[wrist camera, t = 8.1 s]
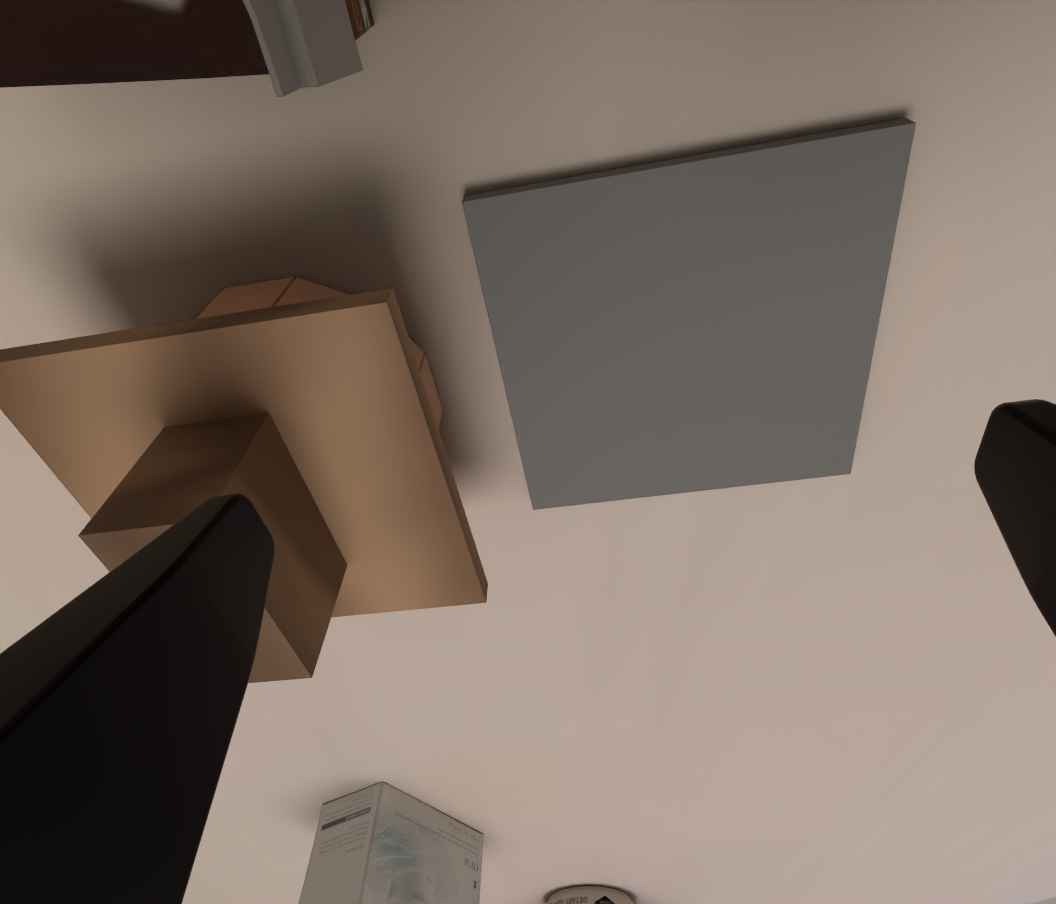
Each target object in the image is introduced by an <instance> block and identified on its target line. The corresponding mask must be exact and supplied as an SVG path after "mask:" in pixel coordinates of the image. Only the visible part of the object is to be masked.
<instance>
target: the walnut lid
mask: <svg viewBox="0 0 1056 904" xmlns="http://www.w3.org/2000/svg"><path fill="white" fill-rule="evenodd" d="M0 409H1V410H2V411H3V413H4V414H5V415H6V416H7V417H8V419H9V420H10V421H11V422H12V423H13V425H14V426H15V427H16V428H17V429H18V431H19V432H20V433H21V434H22V436H23V437H24V438H25V439H26V440H27V442H28V443H29V444H30V445H31V446H32V448H33V449H34V450H35V451H36V452H37V454H38V455H39V456H40V457H41V458H42V460H43V461H44V462H45V463H46V464H47V466H48V467H49V468H50V469H51V470H52V472H53V473H54V474H55V475H56V476H57V478H58V479H59V480H60V481H61V482H62V484H63V485H64V486H65V487H66V489H67V490H68V491H69V492H70V493H71V495H72V496H73V497H74V498H75V499H76V501H77V502H78V503H79V504H80V505H81V507H82V508H83V509H84V510H85V511H86V513H87V514H88V515H89V516H90V517H91V520H90V521H89V523H88V524H87V525H86V526H85V528H84V529H83V530H82V531H81V533H80V534H79V535H78V536H79V537H80V538H81V539H82V540H83V541H84V543H85V544H86V545H87V546H88V547H89V548H90V549H91V551H92V552H93V553H94V554H95V555H96V556H97V558H98V559H99V560H100V561H101V562H102V563H103V564H104V566H105V567H106V568H107V569H108V570H109V571H110V572H111V571H112V570H113V569H115V568H116V567H117V566H119V565H120V564H121V563H123V562H124V561H125V560H127V559H128V558H130V557H131V556H132V555H134V554H135V553H136V552H138V551H139V550H140V549H142V548H143V547H144V546H146V545H147V544H148V543H150V542H151V541H152V540H154V539H155V538H156V537H158V536H159V535H160V534H162V533H163V532H164V531H166V530H167V529H168V528H170V527H171V526H172V525H174V524H175V523H177V522H178V521H179V520H181V519H182V518H183V517H185V516H186V515H187V514H189V513H190V512H191V511H193V510H194V509H195V508H197V507H198V506H199V505H201V504H202V503H203V502H205V501H206V500H207V499H209V498H211V497H214V496H219V495H228V494H236V493H240V494H244V495H246V496H247V497H248V498H249V499H250V500H251V501H252V503H253V505H254V506H255V508H256V510H257V511H258V513H259V515H260V516H261V518H262V520H263V521H264V523H265V524H266V526H267V528H268V529H269V531H270V533H271V535H272V537H273V540H274V544H275V556H274V561H273V567H272V572H271V577H270V583H269V588H268V593H267V599H266V604H265V609H264V615H263V620H262V626H261V631H260V636H259V642H258V646H257V650H256V655H255V659H254V663H253V667H252V670H251V674H250V678H249V681H248V683H254V682H266V681H278V680H290V679H302V678H312V676H313V673H314V670H315V666H316V663H317V660H318V657H319V654H320V651H321V647H322V644H323V641H324V638H325V635H326V632H327V629H328V625H329V622H330V619H331V617H339V616H350V615H360V614H371V613H382V612H392V611H403V610H413V609H424V608H434V607H445V606H455V605H466V604H477V603H486V599H487V588H488V583H487V580H486V577H485V574H484V570H483V567H482V564H481V561H480V558H479V555H478V552H477V549H476V545H475V542H474V539H473V536H472V533H471V530H470V527H469V524H468V520H467V517H466V514H465V511H464V508H463V505H462V502H461V499H460V495H459V492H458V489H457V486H456V483H455V480H454V477H453V474H452V470H451V467H450V464H449V461H448V458H447V455H446V452H445V449H444V445H443V442H442V439H441V436H440V433H439V430H438V427H437V424H436V420H435V417H434V414H433V411H432V408H431V405H430V402H429V399H428V395H427V392H426V389H425V386H424V383H423V380H422V377H421V374H420V370H419V367H418V364H417V361H416V358H415V355H414V352H413V348H412V345H411V342H410V339H409V336H408V333H407V330H406V327H405V323H404V320H403V317H402V314H401V311H400V308H399V305H398V302H397V298H396V295H395V292H394V289H393V288H389V289H382V290H376V291H370V292H363V293H357V294H351V295H344V296H338V297H332V298H325V299H319V300H313V301H306V302H300V303H294V304H287V305H281V306H275V307H268V308H262V309H255V310H249V311H243V312H236V313H230V314H224V315H217V316H211V317H205V318H198V319H192V320H186V321H179V322H173V323H167V324H160V325H154V326H148V327H141V328H135V329H129V330H122V331H116V332H110V333H103V334H97V335H91V336H84V337H78V338H71V339H65V340H59V341H52V342H46V343H40V344H33V345H27V346H21V347H14V348H8V349H2V350H0Z"/></svg>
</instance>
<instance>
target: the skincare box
mask: <svg viewBox="0 0 1056 904" xmlns="http://www.w3.org/2000/svg"><path fill="white" fill-rule="evenodd" d="M482 850H483V835H482V834H481V833H479V832H477V831H475V830H473V829H471V828H469V827H467V826H465V825H464V824H462V823H460V822H458V821H456V820H454V819H452V818H450V817H449V816H447V815H445V814H443V813H441V812H439V811H437V810H435V809H434V808H432V807H430V806H428V805H426V804H424V803H422V802H421V801H419V800H417V799H415V798H413V797H411V796H409V795H407V794H406V793H404V792H402V791H400V790H398V789H396V788H394V787H392V786H390V785H388V784H386V783H384V782H381V783H378V784H375V785H373V786H370V787H368V788H366V789H363V790H361V791H358V792H356V793H353V794H350V795H348V796H345V797H343V798H340V799H337V800H335V801H332V802H329V803H327V804H324V805H323V806H322V810H321V814H320V819H319V824H318V828H317V832H316V836H315V840H314V844H313V848H312V852H311V856H310V860H309V864H308V868H307V872H306V876H305V881H304V885H303V888H302V892H301V896H300V900H299V904H479V899H480V883H481V867H482Z"/></svg>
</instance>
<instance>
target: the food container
mask: <svg viewBox="0 0 1056 904" xmlns="http://www.w3.org/2000/svg"><path fill="white" fill-rule="evenodd" d="M373 25H374V22H373V18H372V13H371V9H370V5H369V1H368V0H0V87H22V86H46V85H69V84H92V83H113V82H134V81H155V80H176V79H197V78H214V77H230V76H246V75H262V74H270V77H271V80H272V83H273V86H274V89H275V92H276V95H277V97H282V96H286V95H288V94H289V93H291V92H293V91H295V90H297V89H299V88H301V87H319V86H321V85H324V84H327V83H329V82H332V81H335V80H337V79H340V78H343V77H345V76H348V75H351V74H353V73H356V72H359V71H361V70H362V66H361V62H360V58H359V54H358V50H357V47H356V43H355V41H356V40H357V39H358V38H359V37H360V36H362V35H363V34H364V33H365V32H366V31H367V30H369V29H370V28H371V27H372V26H373Z"/></svg>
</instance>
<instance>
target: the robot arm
mask: <svg viewBox="0 0 1056 904" xmlns="http://www.w3.org/2000/svg"><path fill="white" fill-rule="evenodd" d="M974 468H975V475H976V479H977V482H978V484H979V486H980V488H981V491H982V493H983V495H984V497H985V499H986V501H987V503H988V506H989V508H990V510H991V512H992V514H993V516H994V519H995V521H996V523H997V525H998V527H999V529H1000V532H1001V534H1002V536H1003V538H1004V540H1005V542H1006V544H1007V547H1008V549H1009V551H1010V553H1011V555H1012V557H1013V560H1014V562H1015V564H1016V566H1017V568H1018V570H1019V572H1020V575H1021V577H1022V579H1023V581H1024V583H1025V585H1026V587H1027V588H1028V590H1029V592H1030V594H1031V596H1032V598H1033V600H1034V601H1035V603H1036V605H1037V606H1038V608H1039V610H1040V612H1041V613H1042V615H1043V617H1044V618H1045V620H1046V622H1047V623H1048V625H1049V626H1050V628H1051V630H1052V631H1053V633H1054V635H1055V636H1056V404H1053V403H1051V402H1048V401H1045V400H1038V399H1034V400H1025V401H1017V402H1008V403H1003V404H1001V405H998V406H997V407H996V408H995V409H994V410H993V411H992V413H991V415H990V418H989V420H988V423H987V426H986V429H985V432H984V435H983V438H982V441H981V444H980V447H979V449H978V452H977V455H976V459H975V466H974ZM274 556H275V544H274V540H273V537H272V535H271V533H270V531H269V529H268V528H267V526H266V524H265V523H264V521H263V520H262V518H261V516H260V515H259V513H258V511H257V510H256V508H255V506H254V505H253V503H252V501H251V500H250V499H249V498H248V497H247V496H246V495H244V494H240V493H236V494H228V495H219V496H214V497H211V498H209V499H207V500H206V501H205V502H203V503H202V504H201V505H199V506H198V507H197V508H195V509H194V510H193V511H191V512H190V513H189V514H187V515H186V516H185V517H183V518H182V519H181V520H179V521H178V522H177V523H175V524H174V525H172V526H171V527H170V528H168V529H167V530H166V531H164V532H163V533H162V534H160V535H159V536H158V537H156V538H155V539H154V540H152V541H151V542H150V543H148V544H147V545H146V546H144V547H143V548H142V549H140V550H139V551H138V552H136V553H135V554H134V555H132V556H131V557H130V558H128V559H127V560H125V561H124V562H123V563H121V564H120V565H119V566H117V567H116V568H115V569H113V570H112V571H111V572H109V573H108V574H107V575H105V576H104V577H103V578H101V579H100V580H99V581H97V582H96V583H95V584H93V585H92V586H91V587H89V588H88V589H87V590H85V591H84V592H83V593H81V594H80V595H78V596H77V597H76V598H74V599H73V600H72V601H70V602H69V603H68V604H66V605H65V606H64V607H62V608H61V609H60V610H58V611H57V612H56V613H54V614H53V615H52V616H50V617H49V618H48V619H46V620H45V621H44V622H42V623H41V624H40V625H38V626H37V627H36V628H34V629H33V630H32V631H30V632H29V633H27V634H26V635H25V636H23V637H22V638H21V639H19V640H18V641H17V642H15V643H14V644H13V645H11V646H10V647H9V648H7V649H6V650H5V651H3V652H2V653H1V654H0V904H182V901H183V897H184V894H185V891H186V887H187V884H188V881H189V877H190V874H191V871H192V867H193V864H194V861H195V857H196V854H197V851H198V847H199V844H200V841H201V837H202V834H203V831H204V827H205V824H206V821H207V817H208V814H209V811H210V807H211V804H212V801H213V798H214V794H215V791H216V788H217V784H218V781H219V778H220V774H221V771H222V768H223V764H224V761H225V758H226V754H227V751H228V748H229V744H230V741H231V738H232V734H233V731H234V728H235V724H236V721H237V718H238V714H239V711H240V708H241V704H242V701H243V698H244V694H245V691H246V688H247V684H248V681H249V678H250V674H251V670H252V667H253V663H254V659H255V655H256V650H257V646H258V642H259V636H260V631H261V626H262V620H263V615H264V609H265V604H266V599H267V593H268V588H269V583H270V577H271V572H272V567H273V561H274Z"/></svg>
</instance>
